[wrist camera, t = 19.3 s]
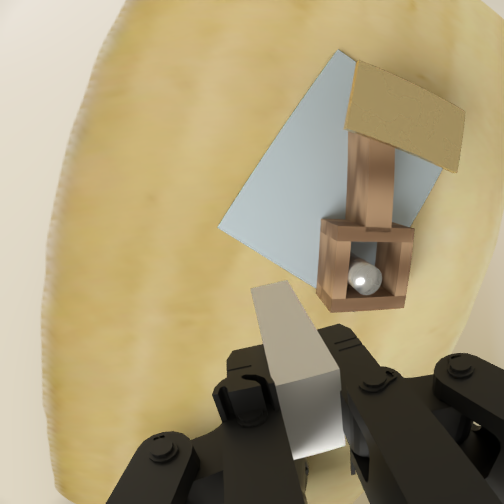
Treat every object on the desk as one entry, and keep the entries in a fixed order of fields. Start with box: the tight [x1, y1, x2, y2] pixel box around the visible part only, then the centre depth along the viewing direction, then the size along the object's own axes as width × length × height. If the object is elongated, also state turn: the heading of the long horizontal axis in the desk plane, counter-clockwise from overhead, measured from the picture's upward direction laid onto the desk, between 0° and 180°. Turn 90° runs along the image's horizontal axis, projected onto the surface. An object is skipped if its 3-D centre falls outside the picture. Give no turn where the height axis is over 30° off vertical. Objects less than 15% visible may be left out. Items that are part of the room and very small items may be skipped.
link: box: [316, 131, 414, 313], centre depth 34 cm, size 21×9×6 cm, turn 179°
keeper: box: [343, 60, 465, 173], centre depth 31 cm, size 7×13×10 cm, turn 77°
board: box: [217, 50, 443, 312], centre depth 36 cm, size 26×20×1 cm
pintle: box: [347, 251, 382, 295], centre depth 35 cm, size 3×3×8 cm
